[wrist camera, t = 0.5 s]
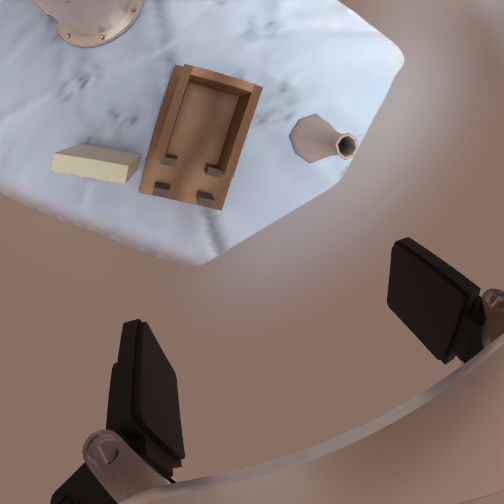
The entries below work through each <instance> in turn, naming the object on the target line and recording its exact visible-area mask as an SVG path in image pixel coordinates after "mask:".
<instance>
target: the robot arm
mask: <svg viewBox="0 0 504 504" xmlns="http://www.w3.org/2000/svg"><path fill="white" fill-rule="evenodd" d="M29 1H30V2H32V3H33V4H35V5H36V6H38V7H39V8H40V9H42V12H41V15H42V16H49V15H50V16H52V17H53V18H55V19H56V20H57V21H58V22H57V24H58V30H59V33H60V35H61V36H62V38H63V39H64V40H66V41H67V42H68V43H70V44H72V45H74V46H78V47H86V48H87V47H95V46H99V45H103V44H105V43H107V42H110V41H112V40H113V39H115V38H117V37H119V36H120V35H121V34H122V33H124V32H125V31H126V30H127V29H128V28H129V27H130V26H131V25H132V24H133V23H134V21H135V20H136V19H137V17H138V15H139V13H140V11H141V8H142V5H143V0H29ZM133 11H136V12H133ZM70 36H71V37H70ZM69 37H70V38H69ZM103 38H105V39H104V40H102V39H103ZM479 292H480V288H479V287H478V286H477V285H475V284H474V283H473V282H471V281H470V280H469V279H468V278H466V277H465V276H464V275H462V274H461V273H460V272H458V271H457V270H455V269H454V268H453V267H451V266H450V265H448V264H447V263H446V262H444V261H443V260H442V259H440V258H439V257H437V256H436V255H435V254H433V253H432V252H430V251H429V250H427V249H426V248H424V247H423V246H421V245H420V244H418V243H417V242H415V241H414V240H412V239H411V238H409V237H407V238H404V239H401V240H398V241H396V242H395V244H394V246H393V247H392V252H391V265H390V276H389V286H388V295H387V303H388V306H389V308H390V309H391V310H392V311H393V312H394V313H395V314H396V315H397V316H398V317H399V318H400V319H401V320H402V321H403V323H404V324H405V325H406V326H407V327H408V328H409V329H410V330H411V331H412V332H413V333H414V334H415V335H416V337H417V338H418V339H419V340H420V341H421V342H422V343H423V344H424V345H425V346H426V348H427V349H428V350H429V351H430V352H431V353H432V354H433V355H434V356H435V357H436V358H437V359H438V360H441V361H442V362H443V363H444V364H447V363H449V362H450V361H451V360H453V359H454V358H455V355H456V356H457V357H458V358H459V368H458V369H457V370H456V371H454V372H453V373H451V374H450V375H448V376H447V377H446V378H444V379H443V380H441V381H440V382H438V383H437V384H435V385H434V386H432V387H431V388H429V389H427V390H426V391H424V392H423V393H421V394H419V395H418V396H416V397H414V398H413V399H411V400H410V401H408V402H406V403H404V404H403V405H401V406H399V407H397V408H395V409H394V410H392V411H390V412H388V413H386V414H384V415H383V416H381V417H379V418H377V419H375V420H373V421H371V422H369V423H367V424H365V425H363V426H360V427H358V428H356V429H354V430H352V431H350V432H347V433H345V434H343V435H341V436H338V437H336V438H334V439H331V440H329V441H327V442H324V443H321V444H319V445H316V446H313V447H311V448H308V449H306V450H302V451H300V452H297V453H294V454H291V455H288V456H285V457H282V458H278V459H275V460H272V461H268V462H265V463H262V464H258V465H254V466H251V467H247V468H243V469H239V470H235V471H231V472H226V473H222V474H217V475H212V476H207V477H202V478H197V479H193V480H188V481H183V482H177V481H176V480H175V479H174V478H172V476H173V468H178V467H182V465H181V459H184V458H185V452H184V445H183V437H182V429H181V420H180V411H179V401H178V389H177V378H176V375H175V372H174V370H173V368H172V366H171V365H170V363H169V361H168V359H167V358H166V356H165V354H164V353H163V351H162V349H161V347H160V345H159V344H158V342H157V340H156V338H155V336H154V335H153V333H152V331H151V329H150V327H149V325H148V323H147V322H142V321H141V320H140V319H137V320H133V321H129V322H125V323H124V324H123V329H122V335H121V342H120V348H119V354H118V362H117V363H115V364H114V365H113V368H112V374H111V382H110V391H109V400H108V411H107V422H106V429H105V430H104V429H103V430H99V431H96V432H94V433H93V434H91V435H90V436H89V437H88V438H87V439H86V441H85V443H84V445H83V451H82V453H83V459H84V461H85V463H84V464H83V465H82V466H81V467H80V468H79V469H78V470H77V471H76V472H75V473H74V474H73V475H72V476H71V477H70V478H69V479H68V480H67V481H66V482H65V483H64V484H63V485H62V486H61V487H60V488H58V489H57V490H56V491H55V493H54V494H53V495H52V498H51V504H504V291H501V290H499V289H488V290H486V291H485V292H484V293H483V295H482V298H481V297H480V296H479Z"/></svg>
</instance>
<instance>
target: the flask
mask: <svg viewBox="0 0 504 504" xmlns="http://www.w3.org/2000/svg"><path fill="white" fill-rule="evenodd" d="M289 136H290V139H291V141H292V144H293V147H294V150H295V153H296V154H297V155H299V156H300V157H302V158H303V159H305V160H306V161H308V162H309V163H312V162H315V161H317V160H320V159H322V158H325V157H328V156H330V155H339V156H341V157H342V158H343V159H344V160H347V159H349V158H352V157H354V156H355V154H356V152H357V151H358V149H359V147H358V143H357V139H356V138H355V137H354V136H352V135H351V134H350V133H346V134H340V133H338V132H337V131H336V130H335V129H334V128H333V127H332V126H331V125H330V124H329V123H327V122H326V121H325V120H323V119H322V118H321V117H320V116H318V115H317V114H315V115H312V116H309V117H306V118H303V119H300V120H299V121H298V123H297V124H296V126H295V127H294V129H293V131H292V132H291V134H290V135H289Z"/></svg>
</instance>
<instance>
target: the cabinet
mask: <svg viewBox="0 0 504 504" xmlns="http://www.w3.org/2000/svg"><path fill="white" fill-rule="evenodd" d="M262 89H263V87H261V86H258V85H255V84H252V83H249V82H246V81H243V80H240V79H237V78H234V77H230V76H227V75H224V74H220V73H217V72H213V71H209V70H206V69H202V68H198V67H194V66H190V65H186V64H185V65H184V67H183V66H179V65H175V67H174V70H173V73H172V75H171V78H170V81H169V84H168V87H167V90H166V93H165V96H164V99H163V102H162V105H161V109H160V112H159V115H158V118H157V122H156V125H155V129H154V132H153V136H152V140H151V143H150V147H149V151H148V155H147V159H146V163H145V167H144V172H143V176H142V180H141V185H140V190H139V193H144V194H149V195H154V196H159V197H164V198H168V199H173V200H178V201H182V202H187V203H191V204H196V205H200V206H205V207H209V208H214V209H218V210H222V208H223V205H224V201H225V198H226V195H227V192H228V188H229V185H230V182H231V179H232V177H233V175H234V172H235V169H236V166H237V163H238V159H239V156H240V153H241V150H242V147H243V144H244V141H245V138H246V135H247V132H248V129H249V126H250V123H251V120H252V117H253V114H254V112H255V109H256V106H257V103H258V100H259V97H260V94H261V92H262Z"/></svg>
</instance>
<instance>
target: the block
mask: <svg viewBox="0 0 504 504" xmlns="http://www.w3.org/2000/svg"><path fill="white" fill-rule="evenodd" d="M140 156H141V154H136V153H130V152H125V151H120V150H115V149H109V148H103V147H98V146H92V145H86V144H80V145H77V146H74V147H71V148H67V149H64V150H62V151H59V152H56V153H54V155H53V162H52V169H51V171H53V172H59V173H65V174H71V175H77V176H82V177H88V178H93V179H99V180H104V181H109V182H115V183H120V184H125V183H126V182H127V181H128V180H129V179H130V177H131V176H132V175H133V174H134V172H135V171H136V170H137V169H138V165H139V161H140Z"/></svg>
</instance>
